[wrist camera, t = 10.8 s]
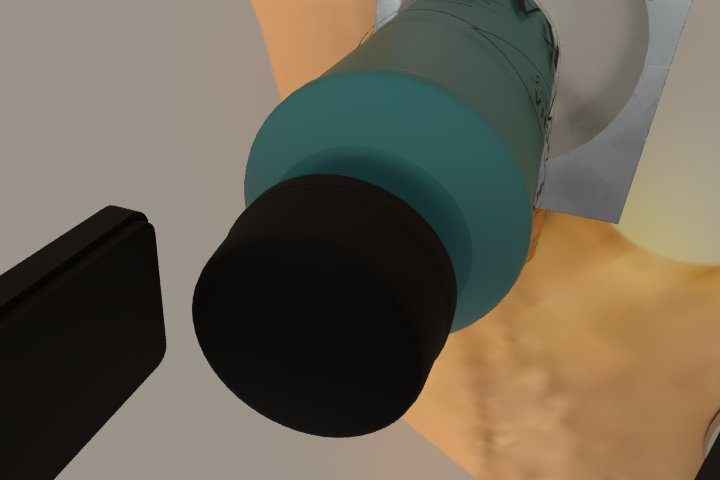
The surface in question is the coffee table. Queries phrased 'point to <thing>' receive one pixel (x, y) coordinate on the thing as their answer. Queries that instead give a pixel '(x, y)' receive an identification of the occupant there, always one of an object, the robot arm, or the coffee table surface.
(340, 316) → the beverage bottle
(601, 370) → the coffee table surface
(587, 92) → the motor housing
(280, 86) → the coffee table surface
